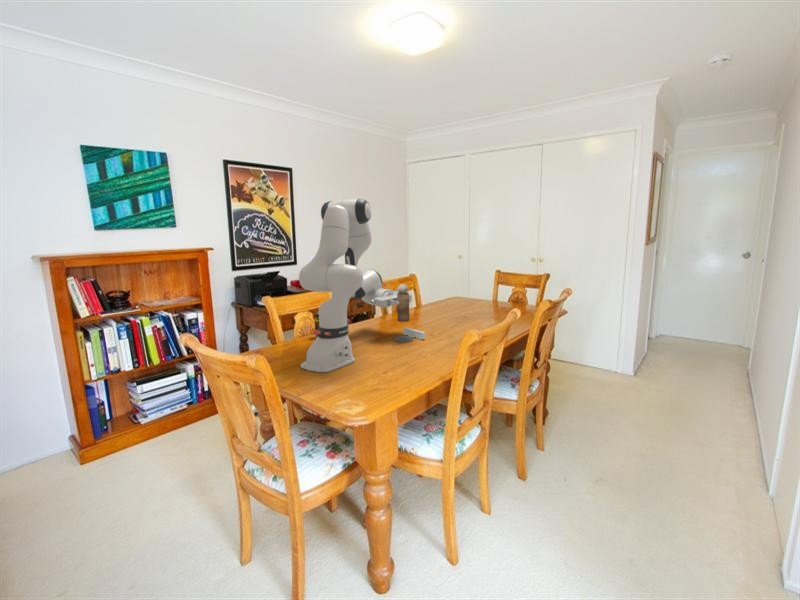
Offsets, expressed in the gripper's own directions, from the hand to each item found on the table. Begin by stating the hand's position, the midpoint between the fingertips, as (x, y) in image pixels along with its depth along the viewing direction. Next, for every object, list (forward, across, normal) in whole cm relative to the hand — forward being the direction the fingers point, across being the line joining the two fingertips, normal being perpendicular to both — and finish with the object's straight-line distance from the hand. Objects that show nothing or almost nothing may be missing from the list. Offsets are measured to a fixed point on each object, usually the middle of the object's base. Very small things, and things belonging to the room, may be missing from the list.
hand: (404, 302), depth 185 cm
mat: (-1, 0, +18) cm, 18 cm away
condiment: (-33, -25, +19) cm, 45 cm away
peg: (-1, 0, +9) cm, 9 cm away
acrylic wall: (0, +6, +18) cm, 19 cm away
